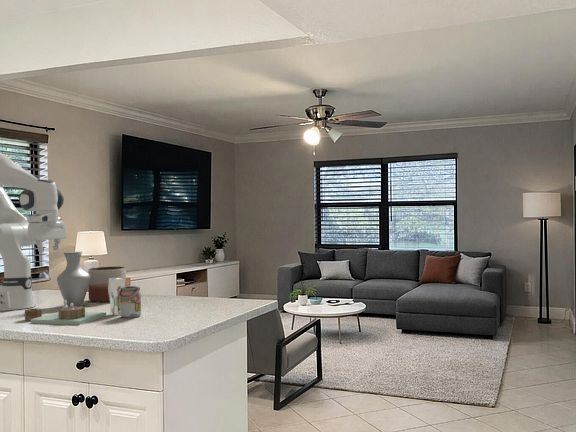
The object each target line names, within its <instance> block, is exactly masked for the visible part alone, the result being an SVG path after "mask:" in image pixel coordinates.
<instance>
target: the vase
mask: <svg viewBox="0 0 576 432" xmlns="http://www.w3.org/2000/svg"><path fill="white" fill-rule="evenodd" d="M82 254H83V251H65V252H63V255H64V257H65V259H66V260H65V261H66V266H65V268H64V270H63V271H62V272H61V273H59V274H58V275H57V277H56V282H57V286H58V288H59V290H60V294H61V297H62V299H63V302H64V301H65V300H66V302H67V306H68V307H70V303H73V306H76V307H83V303H84V301H85V298H86V295H87V292H88V290H89V289H88V286H89V282H90V275H89V274H88V272H87V271H85V270H84V269H83V268H82V266H81V264H80V262H81V257H82Z"/></svg>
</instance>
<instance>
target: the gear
mask: <svg viewBox="0 0 576 432" xmlns="http://www.w3.org/2000/svg"><path fill="white" fill-rule="evenodd" d="M42 310H43V309H42V308H41V307H40V308H37V307H36V308H26V309H25V310H24V321H25V322H31V319H34V318H38V317H41V316H43V315H42V313H43V312H42Z"/></svg>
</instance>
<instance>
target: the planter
mask: <svg viewBox="0 0 576 432" xmlns="http://www.w3.org/2000/svg"><path fill="white" fill-rule="evenodd" d="M87 270H88V272H87V273H88V274H89V275H90V282H89V286H88V289H87V290H88V301H90V302H92V303H110V299H109V294H108V279H110V278H125V287H127V276H126V275H127V273H126V266H118V265H117V266H116V265H115V266H97V267H90V268H88V269H87Z"/></svg>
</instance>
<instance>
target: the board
mask: <svg viewBox="0 0 576 432" xmlns="http://www.w3.org/2000/svg"><path fill="white" fill-rule="evenodd" d="M105 316H106V317H107V312H100V311H99V312H98V311H97V312H96V311H95V312H94V311H86V307H85V306H77V307H76V306H73V303H70V307H68V306H67V302H66V300H65V301H64V300H63V305H62V308H58V311H57V312H54V313H49V314H47V315H42V316H41V317H38V318H34V319H31V321H30V324H40V325H41V324H42V325H43V324H44V325H68V324H75V326H80V324H81V325H83V323H84V324H87V323H89V322H93V321H97V320H99V319H102V318H106V317H105ZM86 322H87V323H86Z"/></svg>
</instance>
